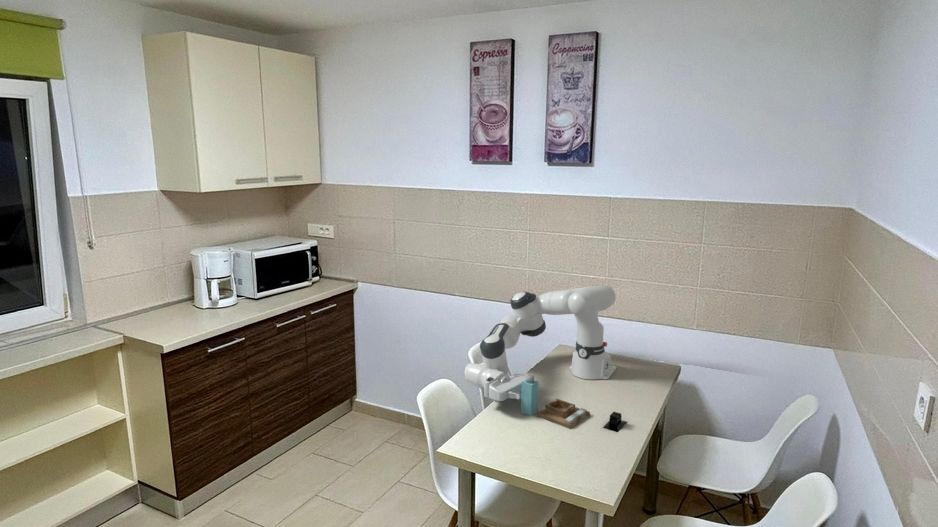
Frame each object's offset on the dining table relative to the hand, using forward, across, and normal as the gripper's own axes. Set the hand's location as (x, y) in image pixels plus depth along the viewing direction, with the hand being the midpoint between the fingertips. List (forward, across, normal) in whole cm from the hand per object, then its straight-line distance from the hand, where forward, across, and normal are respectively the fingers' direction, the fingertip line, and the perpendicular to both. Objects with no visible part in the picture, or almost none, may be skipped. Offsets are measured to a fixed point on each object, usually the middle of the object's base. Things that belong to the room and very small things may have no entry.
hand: (527, 392), depth 200 cm
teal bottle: (+1, 0, -8) cm, 8 cm away
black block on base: (+29, -13, -8) cm, 33 cm away
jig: (+12, -6, -7) cm, 15 cm away
